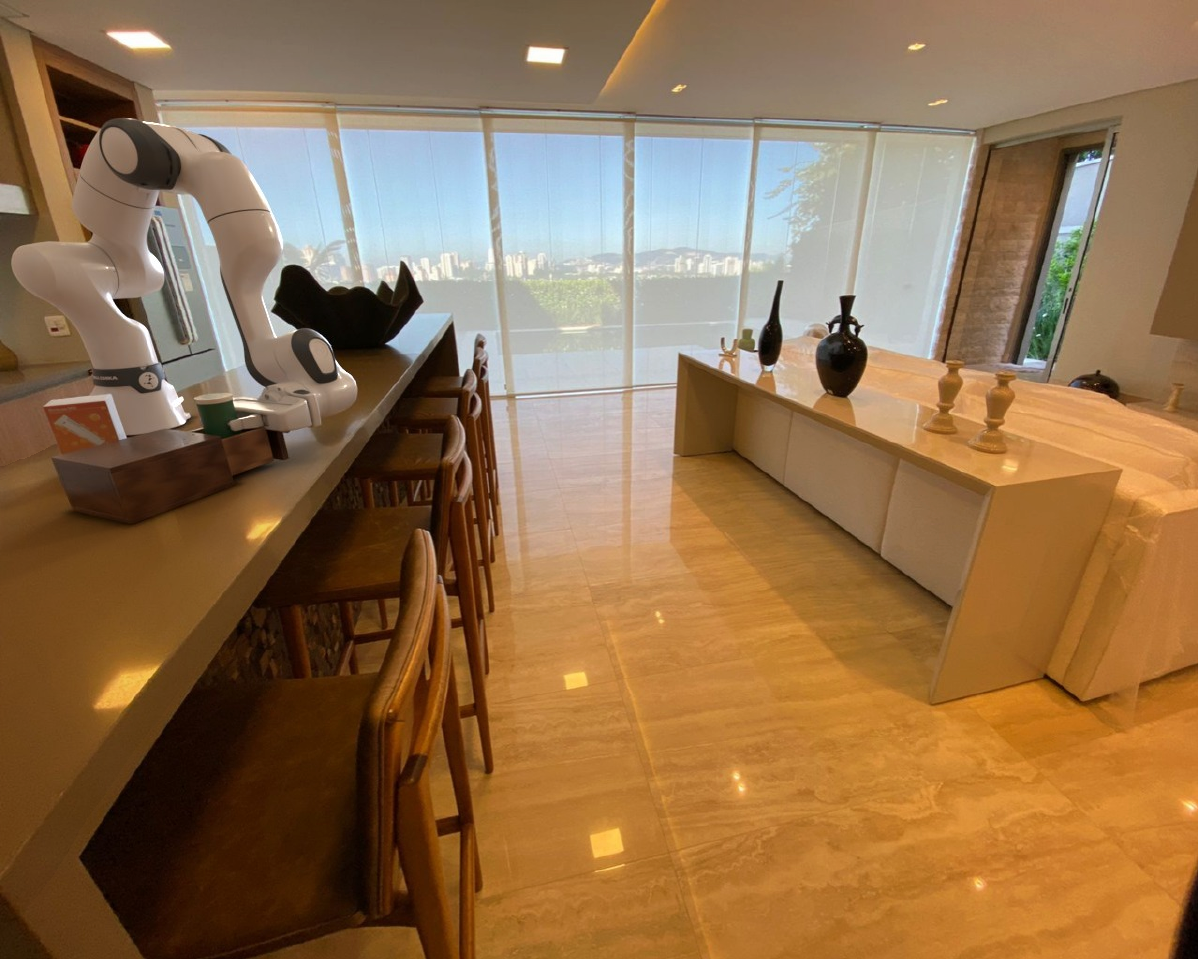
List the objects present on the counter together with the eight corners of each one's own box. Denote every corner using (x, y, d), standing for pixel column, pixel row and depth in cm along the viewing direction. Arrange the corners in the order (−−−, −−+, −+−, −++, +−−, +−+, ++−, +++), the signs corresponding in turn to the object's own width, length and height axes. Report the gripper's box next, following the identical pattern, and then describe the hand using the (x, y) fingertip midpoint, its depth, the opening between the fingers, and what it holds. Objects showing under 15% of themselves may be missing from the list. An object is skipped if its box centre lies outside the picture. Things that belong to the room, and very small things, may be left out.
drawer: (261, 444, 106) (252, 411, 103) (307, 451, 102) (300, 417, 99) (161, 477, 90) (148, 439, 87) (212, 486, 86) (200, 446, 83)
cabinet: (180, 475, 93) (165, 428, 90) (235, 485, 89) (221, 436, 85) (73, 511, 80) (50, 457, 76) (131, 524, 75) (109, 468, 72)
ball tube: (205, 460, 93) (186, 398, 89) (234, 450, 98) (217, 391, 93) (226, 463, 91) (208, 400, 87) (255, 453, 96) (239, 394, 92)
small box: (71, 479, 92) (40, 406, 87) (78, 469, 96) (50, 399, 92) (131, 470, 96) (105, 399, 91) (135, 460, 101) (111, 393, 96)
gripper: (243, 386, 105) (170, 401, 93) (321, 393, 99) (253, 411, 87) (251, 417, 108) (180, 436, 96) (327, 426, 101) (262, 448, 89)
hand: (215, 424), depth 91 cm, fingers closed on ball tube, 5 cm apart
